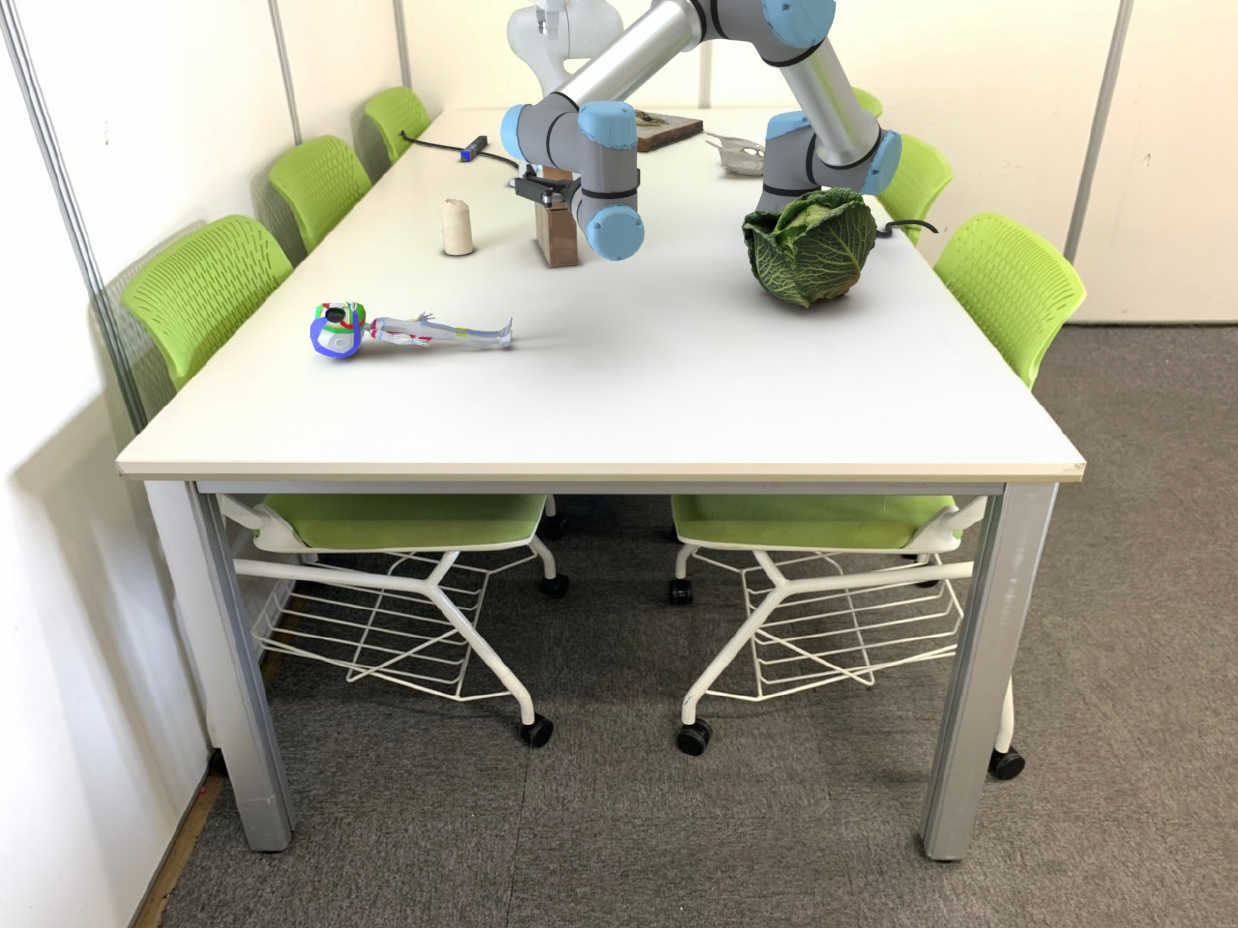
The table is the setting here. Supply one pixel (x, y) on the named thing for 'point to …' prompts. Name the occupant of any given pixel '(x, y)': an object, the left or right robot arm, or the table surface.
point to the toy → (386, 330)
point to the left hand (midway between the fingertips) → (547, 36)
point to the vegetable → (811, 245)
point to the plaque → (663, 129)
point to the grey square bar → (474, 148)
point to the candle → (456, 227)
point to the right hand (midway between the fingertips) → (569, 169)
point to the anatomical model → (739, 155)
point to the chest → (557, 236)
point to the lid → (556, 175)
